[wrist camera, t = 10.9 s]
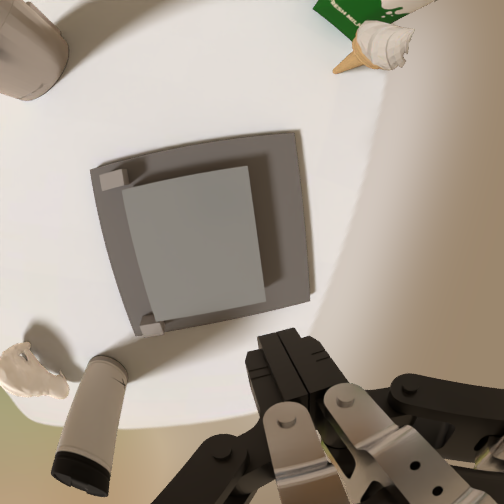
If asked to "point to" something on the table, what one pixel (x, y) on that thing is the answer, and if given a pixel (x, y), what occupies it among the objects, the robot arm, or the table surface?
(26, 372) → the beige irregular lump
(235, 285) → the tile
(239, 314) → the base
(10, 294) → the table surface
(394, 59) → the ice cream cone
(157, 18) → the table surface
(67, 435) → the travel mug
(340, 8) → the milk carton
